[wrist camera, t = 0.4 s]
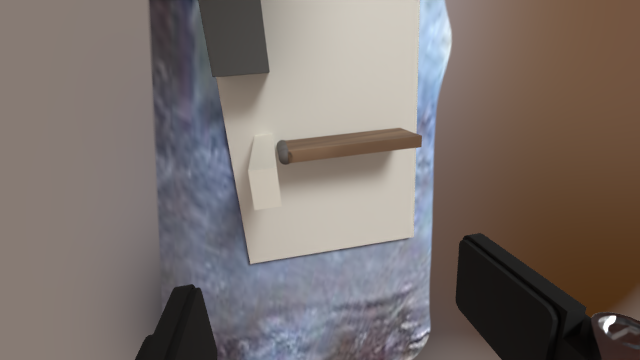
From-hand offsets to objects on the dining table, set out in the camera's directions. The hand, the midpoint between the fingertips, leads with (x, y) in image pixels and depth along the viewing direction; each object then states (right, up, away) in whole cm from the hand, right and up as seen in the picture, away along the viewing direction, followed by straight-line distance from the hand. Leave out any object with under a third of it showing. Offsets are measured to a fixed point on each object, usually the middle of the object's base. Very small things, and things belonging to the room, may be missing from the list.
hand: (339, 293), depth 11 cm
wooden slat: (+2, +9, +25) cm, 27 cm away
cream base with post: (0, +9, +26) cm, 28 cm away
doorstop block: (-9, +19, +20) cm, 29 cm away
